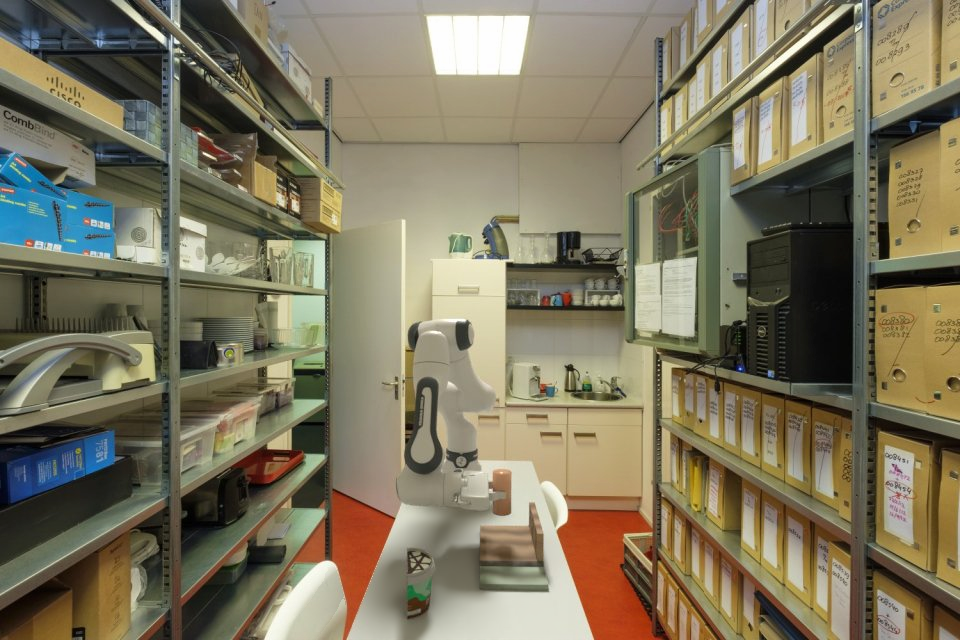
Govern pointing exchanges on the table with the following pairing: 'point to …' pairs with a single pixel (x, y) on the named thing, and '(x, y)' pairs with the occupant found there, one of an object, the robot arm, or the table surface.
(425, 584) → the food container
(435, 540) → the table surface
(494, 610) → the table surface
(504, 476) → the peach cylinder
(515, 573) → the brown wooden l-shaped board
